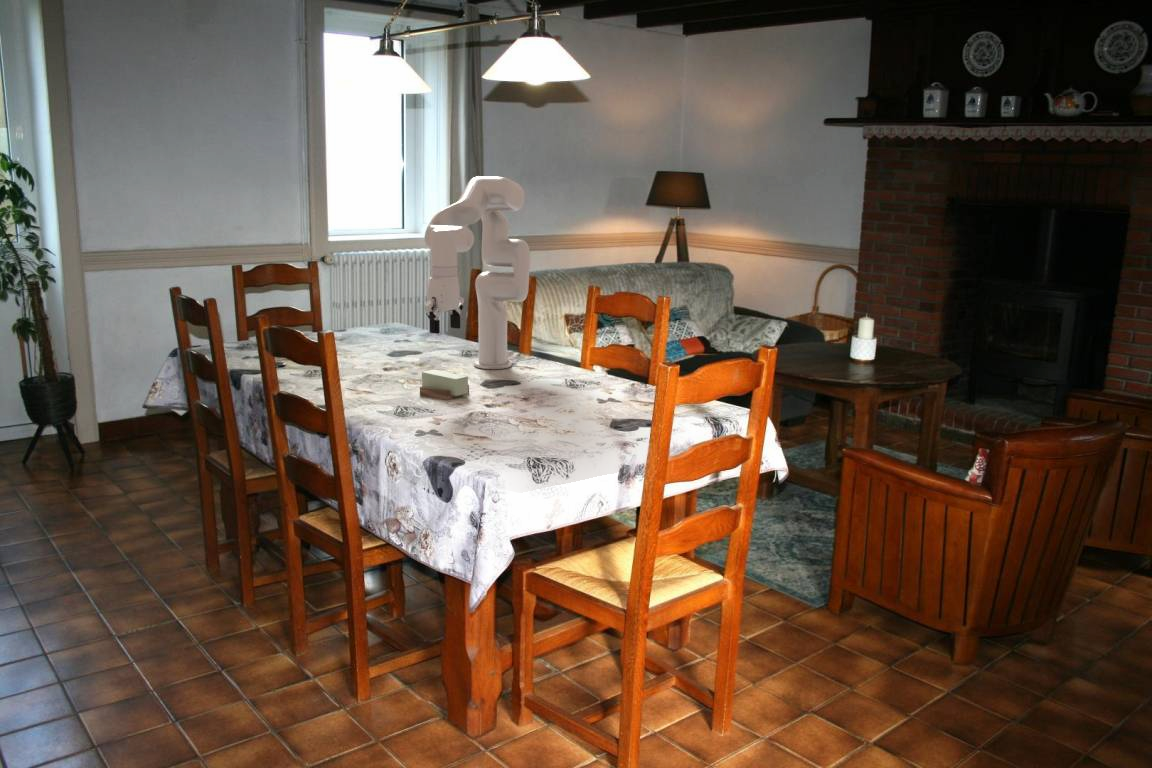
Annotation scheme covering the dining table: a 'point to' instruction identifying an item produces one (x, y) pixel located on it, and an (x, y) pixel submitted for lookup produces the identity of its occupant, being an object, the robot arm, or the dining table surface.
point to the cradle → (437, 393)
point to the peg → (446, 381)
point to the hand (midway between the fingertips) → (445, 330)
